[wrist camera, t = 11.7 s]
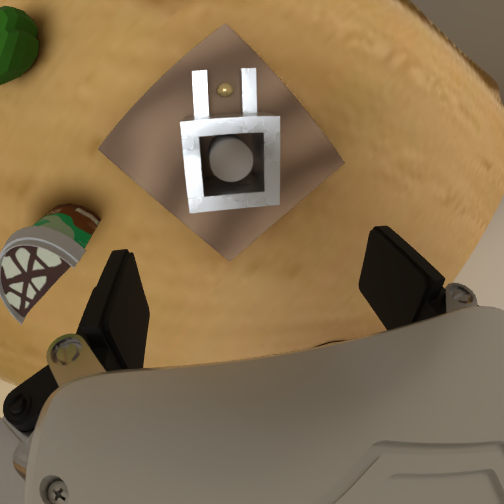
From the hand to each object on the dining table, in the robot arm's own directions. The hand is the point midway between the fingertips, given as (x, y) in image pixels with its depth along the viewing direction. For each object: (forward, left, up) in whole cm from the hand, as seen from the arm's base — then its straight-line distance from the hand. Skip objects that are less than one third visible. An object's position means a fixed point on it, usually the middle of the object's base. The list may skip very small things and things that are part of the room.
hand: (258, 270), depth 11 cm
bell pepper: (+26, +5, -19) cm, 32 cm away
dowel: (+5, -5, -17) cm, 18 cm away
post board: (+1, -1, -19) cm, 19 cm away
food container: (+9, +17, -19) cm, 27 cm away
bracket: (+2, -2, -17) cm, 17 cm away
